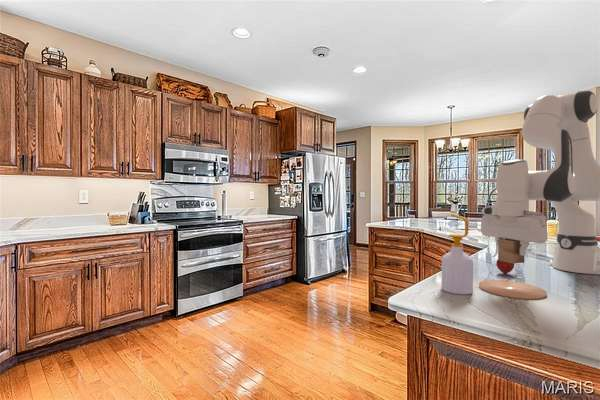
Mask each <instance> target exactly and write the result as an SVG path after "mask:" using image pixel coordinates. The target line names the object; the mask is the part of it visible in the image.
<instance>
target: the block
mask: <svg viewBox="0 0 600 400" xmlns="http://www.w3.org/2000/svg"><path fill="white" fill-rule="evenodd" d="M520 247H521V244H520V241H518V240H511V239H498V245H497V260H499V261H503V262H508V263H512V264H513V263H514V264H524V263H525V255H524V256H521V255H517V249H520Z"/></svg>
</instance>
